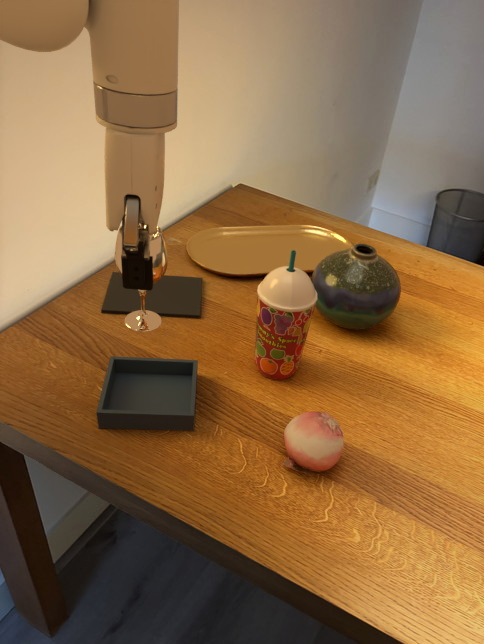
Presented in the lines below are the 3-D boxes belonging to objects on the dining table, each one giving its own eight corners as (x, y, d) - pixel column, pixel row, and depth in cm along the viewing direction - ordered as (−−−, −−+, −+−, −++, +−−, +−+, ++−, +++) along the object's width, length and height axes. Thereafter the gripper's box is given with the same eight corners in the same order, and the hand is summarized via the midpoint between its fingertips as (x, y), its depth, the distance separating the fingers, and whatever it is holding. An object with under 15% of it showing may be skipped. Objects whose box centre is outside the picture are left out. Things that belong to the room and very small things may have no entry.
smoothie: (240, 375, 81) (251, 256, 68) (260, 344, 88) (275, 230, 75) (292, 393, 80) (314, 274, 67) (309, 360, 86) (332, 246, 73)
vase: (293, 295, 100) (304, 228, 91) (368, 290, 105) (385, 225, 96) (324, 347, 89) (339, 276, 80) (406, 338, 94) (429, 271, 85)
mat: (101, 312, 89) (101, 309, 89) (112, 274, 98) (112, 271, 98) (200, 318, 91) (200, 315, 91) (202, 280, 100) (202, 277, 100)
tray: (98, 428, 70) (96, 412, 68) (112, 371, 79) (110, 356, 77) (194, 431, 72) (194, 415, 70) (197, 375, 80) (197, 359, 78)
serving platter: (178, 235, 112) (178, 228, 111) (334, 229, 123) (335, 223, 122) (196, 284, 99) (196, 276, 98) (368, 273, 110) (370, 266, 109)
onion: (347, 478, 69) (359, 440, 64) (289, 488, 67) (297, 449, 62) (325, 432, 75) (335, 394, 70) (271, 440, 72) (278, 401, 68)
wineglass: (111, 329, 65) (104, 237, 57) (129, 303, 69) (125, 215, 62) (158, 339, 65) (157, 248, 57) (173, 313, 69) (174, 225, 61)
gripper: (110, 77, 57) (119, 235, 69) (75, 129, 44) (94, 313, 56) (183, 86, 58) (179, 240, 70) (169, 140, 45) (168, 318, 57)
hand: (141, 271), depth 63 cm, fingers closed on wineglass, 5 cm apart
